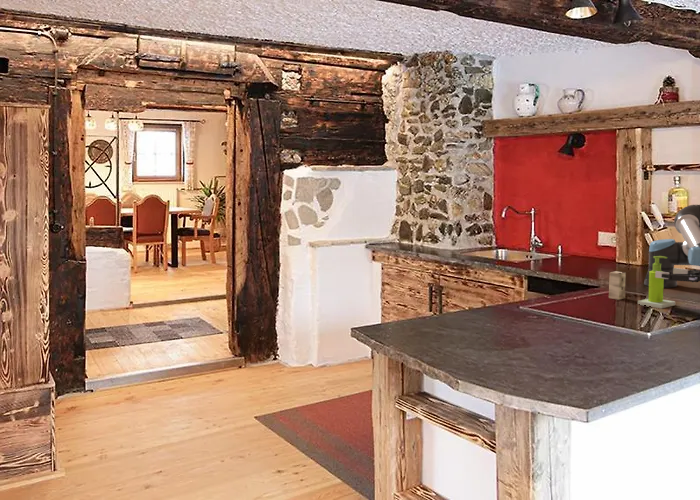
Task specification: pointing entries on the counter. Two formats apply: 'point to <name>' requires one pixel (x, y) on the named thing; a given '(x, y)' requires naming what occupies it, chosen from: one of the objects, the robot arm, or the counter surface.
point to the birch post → (617, 285)
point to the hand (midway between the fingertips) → (664, 272)
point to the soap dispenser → (656, 282)
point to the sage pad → (657, 303)
